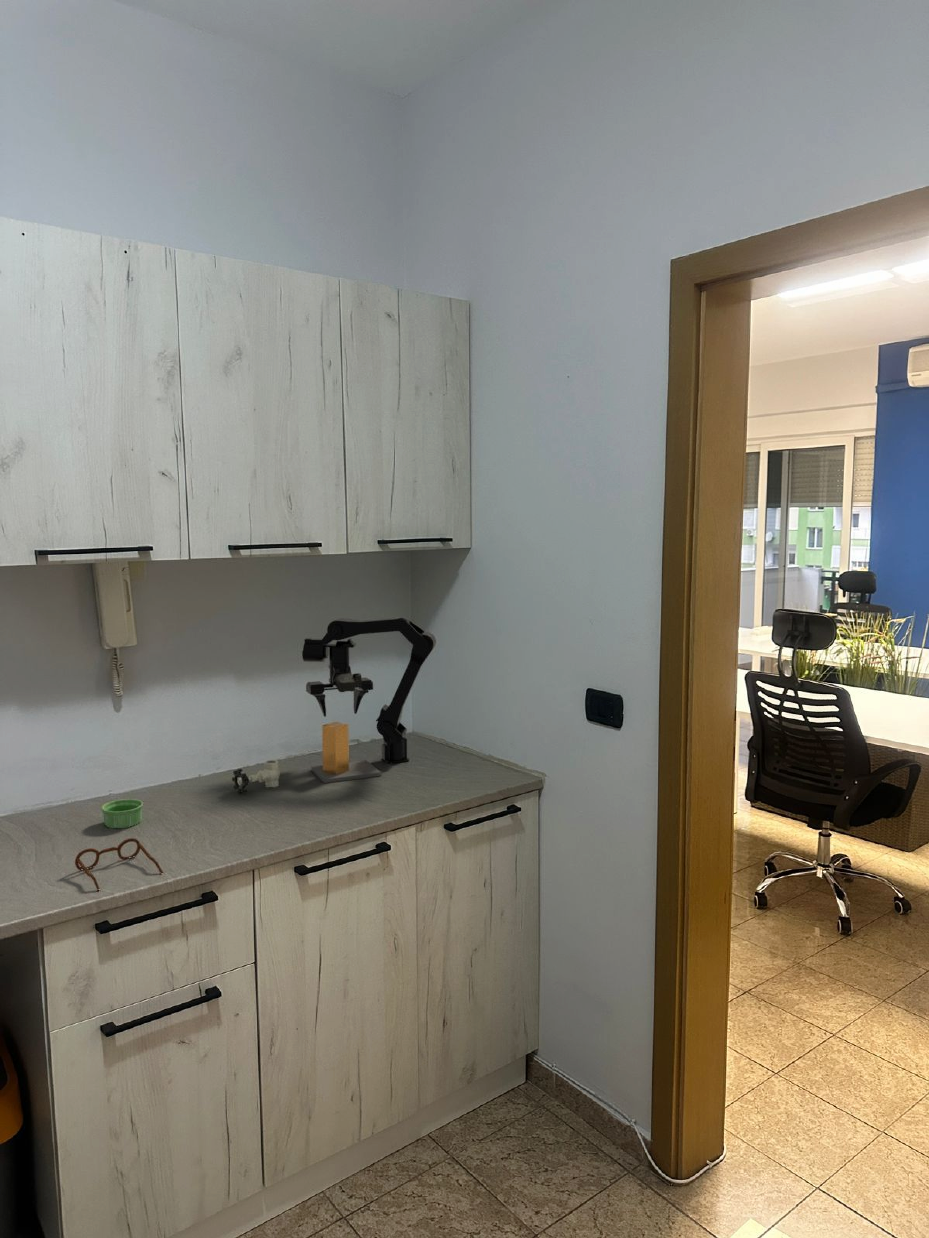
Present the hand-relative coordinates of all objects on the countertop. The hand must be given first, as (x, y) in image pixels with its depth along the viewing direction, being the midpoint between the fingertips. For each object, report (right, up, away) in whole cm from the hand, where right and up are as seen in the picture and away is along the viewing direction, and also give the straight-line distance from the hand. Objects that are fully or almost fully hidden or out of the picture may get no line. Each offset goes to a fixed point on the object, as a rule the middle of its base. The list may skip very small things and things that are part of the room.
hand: (340, 714), depth 260 cm
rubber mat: (+3, -15, -13) cm, 20 cm away
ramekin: (-43, -20, -52) cm, 71 cm away
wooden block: (+1, -14, -14) cm, 20 cm away
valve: (-17, -17, -27) cm, 36 cm away
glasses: (-33, -24, -81) cm, 90 cm away
